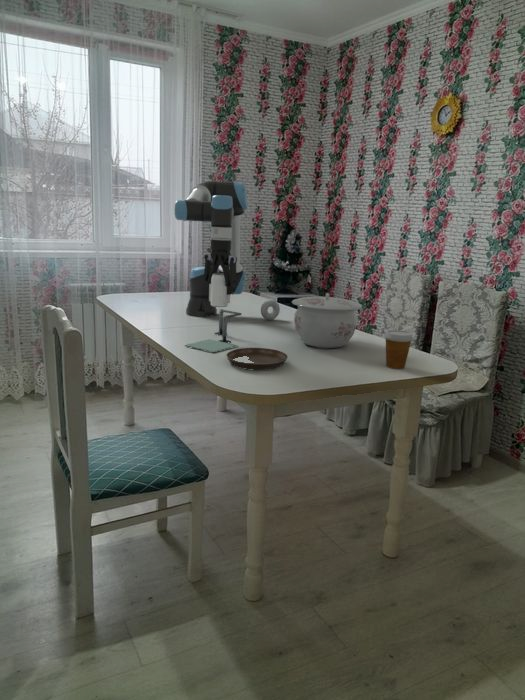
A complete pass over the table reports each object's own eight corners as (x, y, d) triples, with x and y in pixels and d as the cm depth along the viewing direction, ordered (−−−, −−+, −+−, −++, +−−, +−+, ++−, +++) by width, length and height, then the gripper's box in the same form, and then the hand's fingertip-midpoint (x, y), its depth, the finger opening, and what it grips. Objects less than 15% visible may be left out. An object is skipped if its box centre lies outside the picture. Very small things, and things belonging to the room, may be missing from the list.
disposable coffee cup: (377, 362, 190) (381, 329, 187) (404, 363, 191) (407, 330, 188) (386, 370, 181) (389, 335, 178) (413, 370, 182) (417, 336, 179)
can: (207, 306, 200) (208, 273, 197) (215, 303, 206) (215, 272, 203) (223, 307, 198) (224, 275, 195) (230, 305, 203) (231, 273, 201)
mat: (184, 346, 200) (184, 344, 199) (209, 340, 211) (209, 339, 211) (213, 353, 192) (213, 351, 192) (237, 346, 203) (237, 345, 203)
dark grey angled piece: (198, 338, 214) (198, 312, 212) (220, 333, 225) (220, 308, 223) (225, 343, 207) (225, 317, 204) (246, 338, 218) (247, 313, 215)
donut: (277, 319, 262) (278, 298, 260) (280, 320, 259) (281, 299, 257) (258, 319, 258) (259, 299, 255) (262, 321, 255) (263, 300, 252)
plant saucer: (239, 375, 168) (239, 364, 168) (217, 358, 187) (218, 349, 186) (297, 370, 177) (298, 360, 176) (271, 354, 195) (272, 346, 194)
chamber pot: (313, 355, 195) (317, 299, 190) (276, 339, 219) (279, 288, 214) (374, 350, 208) (379, 297, 203) (333, 335, 232) (337, 287, 227)
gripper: (194, 237, 198) (193, 299, 203) (236, 241, 187) (233, 306, 193) (207, 237, 204) (206, 298, 209) (248, 240, 193) (246, 304, 199)
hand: (219, 301), depth 201 cm, fingers closed on can, 6 cm apart
